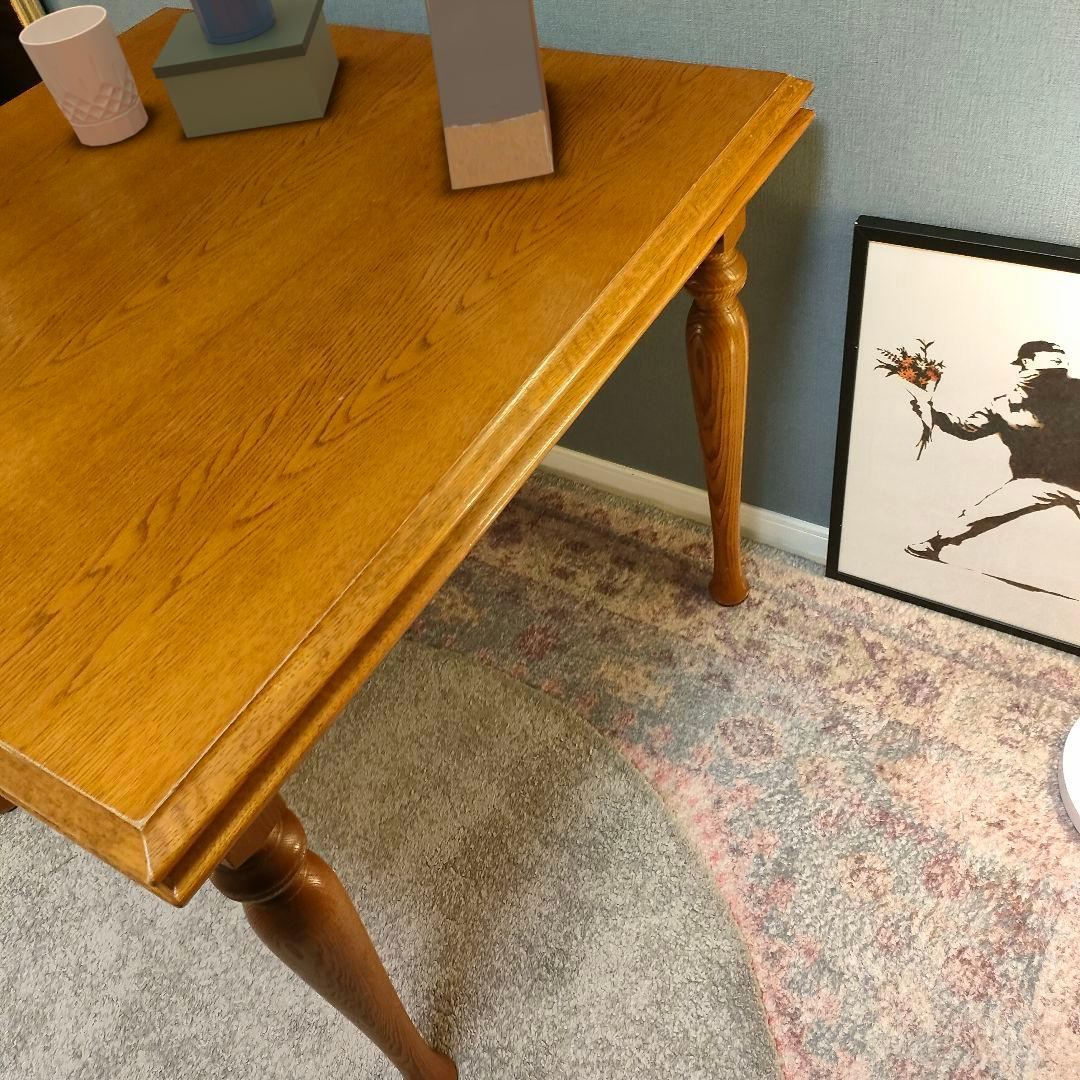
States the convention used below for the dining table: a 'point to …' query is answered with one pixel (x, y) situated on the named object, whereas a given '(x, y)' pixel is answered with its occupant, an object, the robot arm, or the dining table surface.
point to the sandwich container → (490, 90)
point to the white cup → (86, 73)
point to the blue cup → (233, 19)
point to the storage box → (250, 72)
